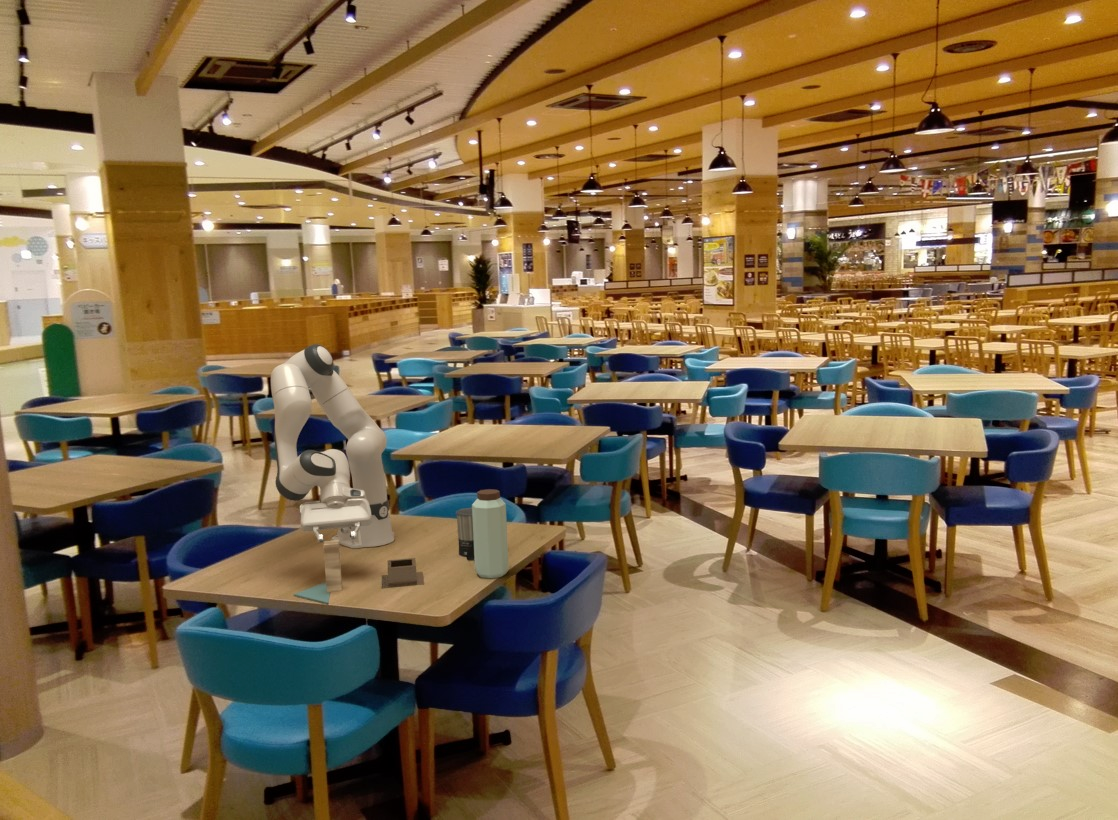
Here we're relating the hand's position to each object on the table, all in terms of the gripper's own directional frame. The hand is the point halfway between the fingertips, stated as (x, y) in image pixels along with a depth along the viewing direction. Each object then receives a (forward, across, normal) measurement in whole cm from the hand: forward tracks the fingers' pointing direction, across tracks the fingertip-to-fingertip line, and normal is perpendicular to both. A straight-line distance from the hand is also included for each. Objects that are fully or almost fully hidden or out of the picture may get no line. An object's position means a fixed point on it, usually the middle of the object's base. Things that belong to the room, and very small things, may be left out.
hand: (337, 540), depth 250 cm
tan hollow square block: (+12, +18, +8) cm, 23 cm away
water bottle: (+12, +44, +8) cm, 46 cm away
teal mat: (+13, -2, +7) cm, 15 cm away
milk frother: (-4, +44, +24) cm, 50 cm away
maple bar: (+13, -2, +6) cm, 14 cm away
